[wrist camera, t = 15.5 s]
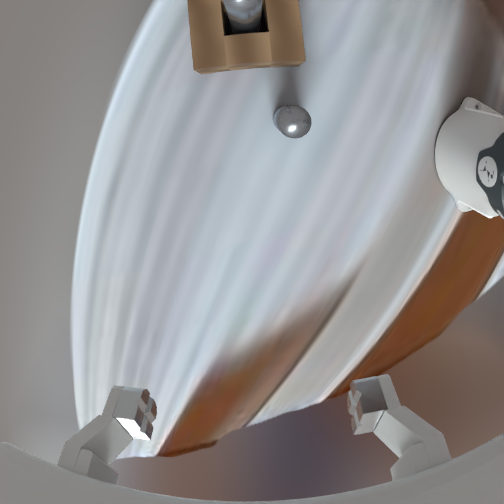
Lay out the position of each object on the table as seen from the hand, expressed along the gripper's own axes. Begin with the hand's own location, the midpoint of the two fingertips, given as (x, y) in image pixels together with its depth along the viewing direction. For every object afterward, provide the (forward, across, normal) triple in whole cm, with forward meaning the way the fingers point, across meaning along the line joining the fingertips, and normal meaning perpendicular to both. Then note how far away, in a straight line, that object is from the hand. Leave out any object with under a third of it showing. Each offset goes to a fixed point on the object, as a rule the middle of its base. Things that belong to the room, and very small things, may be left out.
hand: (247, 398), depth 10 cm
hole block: (+31, -1, -21) cm, 38 cm away
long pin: (+31, -1, -21) cm, 38 cm away
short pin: (+31, -5, -8) cm, 33 cm away
